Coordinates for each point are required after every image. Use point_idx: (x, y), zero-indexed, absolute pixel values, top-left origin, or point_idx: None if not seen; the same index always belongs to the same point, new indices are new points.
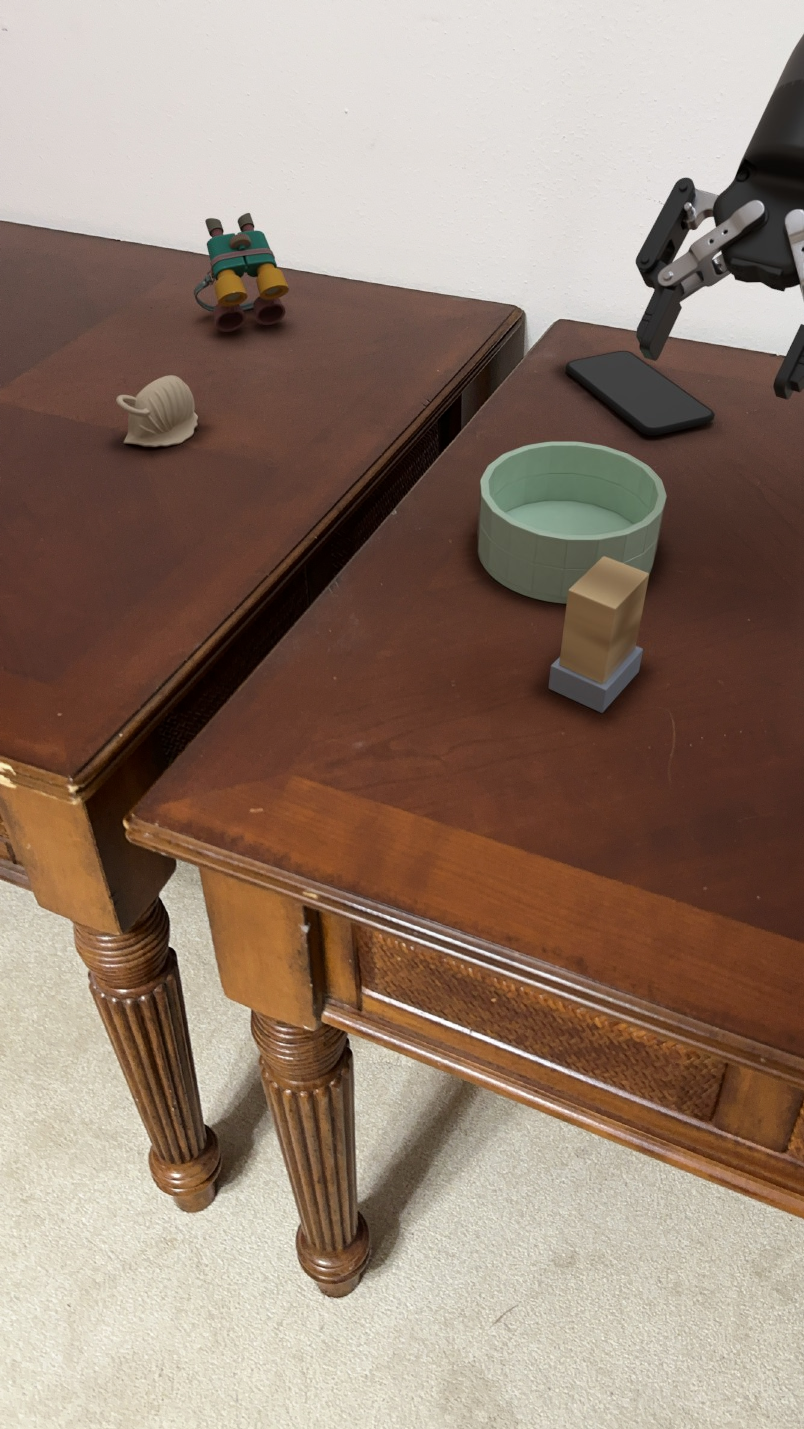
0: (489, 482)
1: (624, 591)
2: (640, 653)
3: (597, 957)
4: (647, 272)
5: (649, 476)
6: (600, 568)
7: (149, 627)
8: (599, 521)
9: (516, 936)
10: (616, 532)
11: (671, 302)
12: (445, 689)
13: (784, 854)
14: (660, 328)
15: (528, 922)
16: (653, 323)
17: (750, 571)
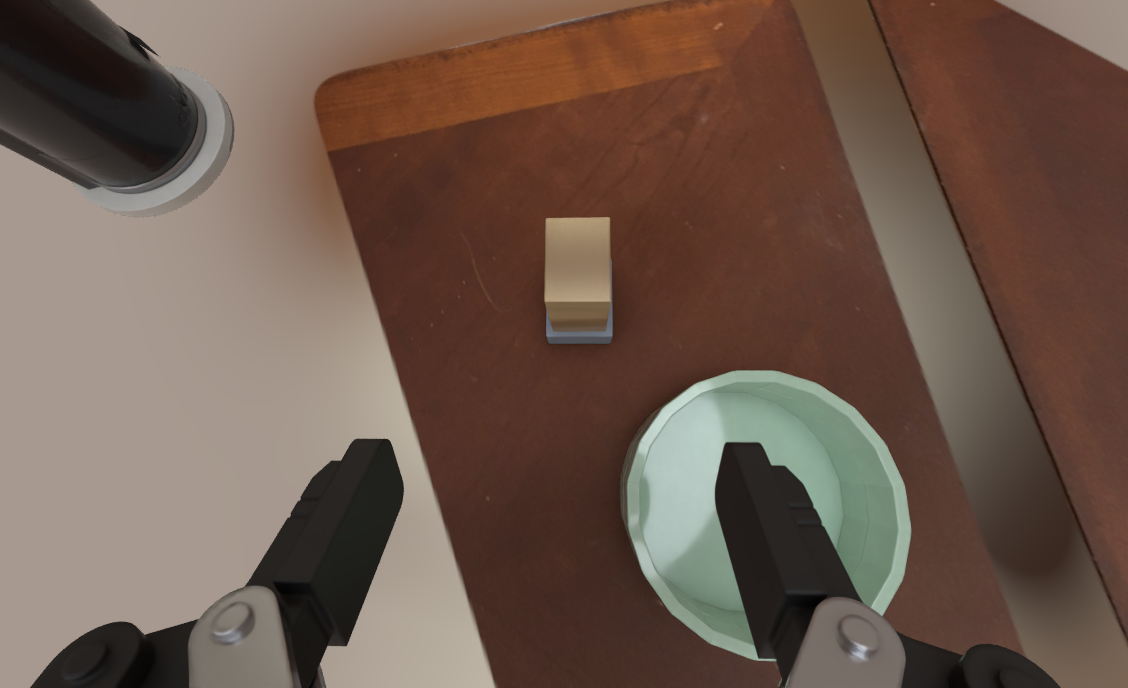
0: (873, 455)
1: (552, 251)
2: (546, 331)
3: (437, 66)
4: (955, 663)
5: (691, 612)
6: (600, 275)
7: (982, 118)
8: (730, 574)
9: (491, 49)
10: (652, 435)
11: (768, 567)
12: (688, 214)
13: (353, 217)
14: (741, 500)
15: (490, 62)
16: (763, 484)
17: (521, 598)
